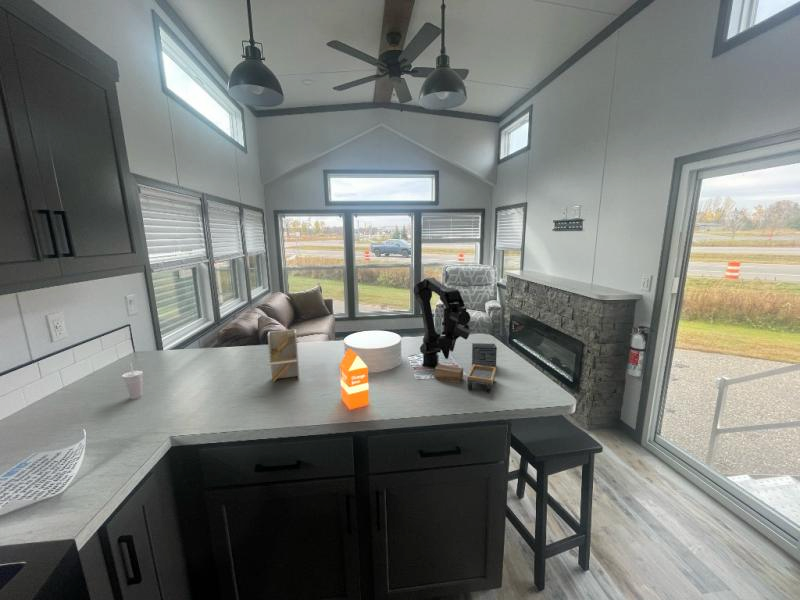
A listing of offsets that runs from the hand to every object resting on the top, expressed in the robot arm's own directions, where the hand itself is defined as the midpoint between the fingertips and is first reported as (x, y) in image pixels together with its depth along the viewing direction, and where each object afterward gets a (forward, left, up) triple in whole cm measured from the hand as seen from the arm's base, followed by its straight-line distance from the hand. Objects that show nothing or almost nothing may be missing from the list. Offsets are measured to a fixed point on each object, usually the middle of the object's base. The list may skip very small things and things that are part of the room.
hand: (449, 354), depth 139 cm
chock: (0, 0, -11) cm, 11 cm away
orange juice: (-28, -32, -11) cm, 44 cm away
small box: (+12, +19, -11) cm, 25 cm away
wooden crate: (-66, -26, -11) cm, 72 cm away
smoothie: (-110, -60, -11) cm, 126 cm away
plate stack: (-40, +7, -11) cm, 42 cm away
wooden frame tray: (+14, -1, -11) cm, 18 cm away
